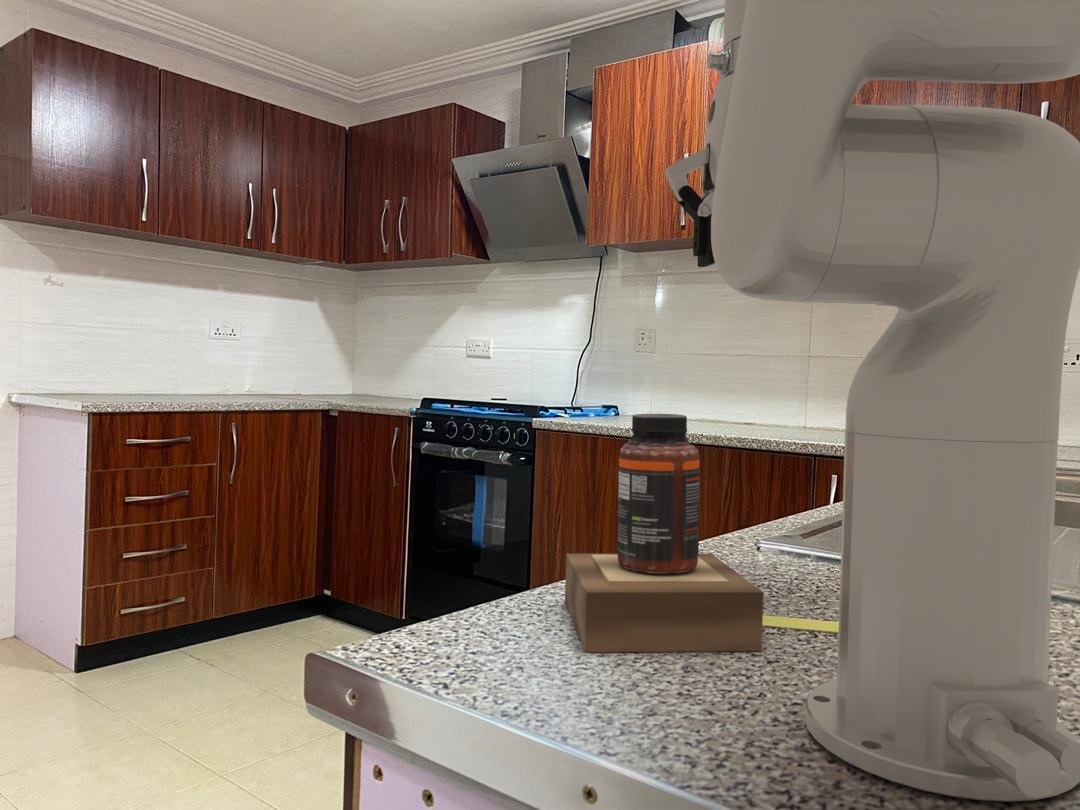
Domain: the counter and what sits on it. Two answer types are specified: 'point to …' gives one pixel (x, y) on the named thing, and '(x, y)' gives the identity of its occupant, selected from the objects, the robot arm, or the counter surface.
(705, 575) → the base slab
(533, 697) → the counter surface
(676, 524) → the supplement bottle
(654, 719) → the counter surface
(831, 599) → the counter surface
